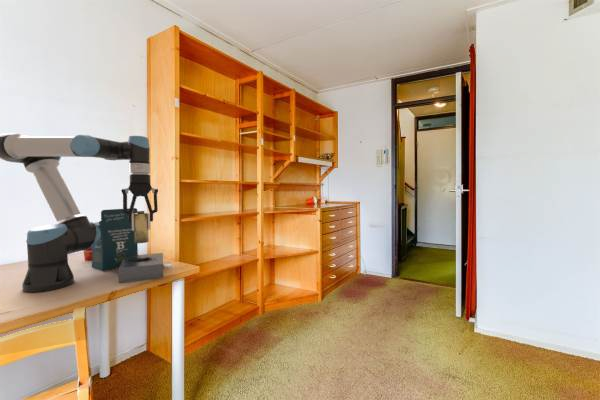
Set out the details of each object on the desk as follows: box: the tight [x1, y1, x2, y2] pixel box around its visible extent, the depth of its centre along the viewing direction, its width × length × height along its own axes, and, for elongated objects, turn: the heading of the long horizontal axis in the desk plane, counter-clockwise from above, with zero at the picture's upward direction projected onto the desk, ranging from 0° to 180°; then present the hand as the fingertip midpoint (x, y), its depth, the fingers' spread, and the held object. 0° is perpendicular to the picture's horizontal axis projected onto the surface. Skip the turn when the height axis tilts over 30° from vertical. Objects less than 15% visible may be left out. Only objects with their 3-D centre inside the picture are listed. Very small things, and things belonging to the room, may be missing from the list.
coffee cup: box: [83, 248, 92, 262], centre depth 153 cm, size 8×8×15 cm
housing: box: [118, 252, 164, 284], centre depth 129 cm, size 16×22×6 cm
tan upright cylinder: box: [134, 210, 150, 244], centre depth 121 cm, size 5×5×13 cm
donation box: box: [91, 207, 139, 272], centre depth 142 cm, size 16×16×28 cm
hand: (141, 229), depth 121 cm, fingers closed on tan upright cylinder, 5 cm apart
